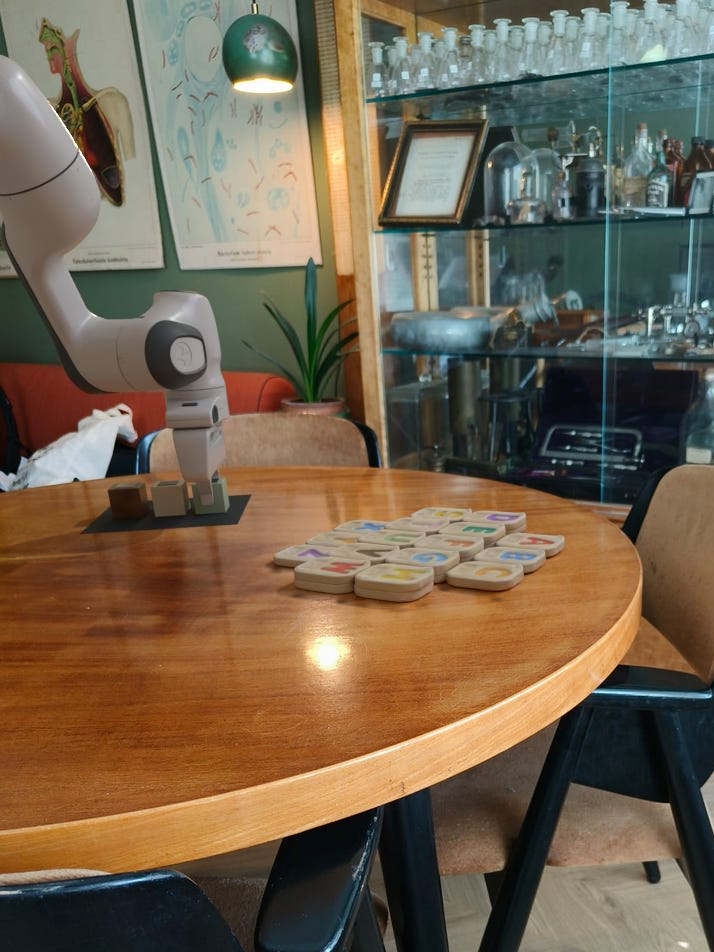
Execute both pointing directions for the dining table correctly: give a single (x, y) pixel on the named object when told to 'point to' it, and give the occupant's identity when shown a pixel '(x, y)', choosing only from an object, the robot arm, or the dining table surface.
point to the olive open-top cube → (219, 494)
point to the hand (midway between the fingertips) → (211, 499)
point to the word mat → (170, 518)
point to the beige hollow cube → (170, 498)
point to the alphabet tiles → (420, 554)
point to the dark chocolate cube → (128, 500)
